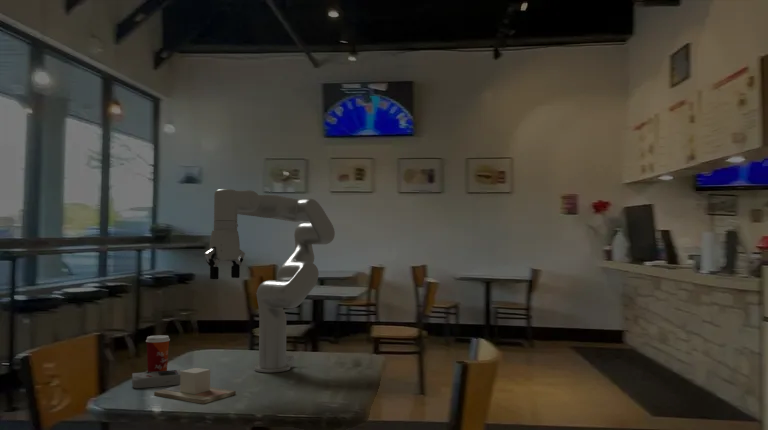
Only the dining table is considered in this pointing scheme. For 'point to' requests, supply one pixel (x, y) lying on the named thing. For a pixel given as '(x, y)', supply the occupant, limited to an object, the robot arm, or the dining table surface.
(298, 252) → the robot arm
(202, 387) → the cream cube
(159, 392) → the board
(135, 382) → the handheld gaming device
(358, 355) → the dining table surface
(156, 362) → the paper cup
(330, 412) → the dining table surface
